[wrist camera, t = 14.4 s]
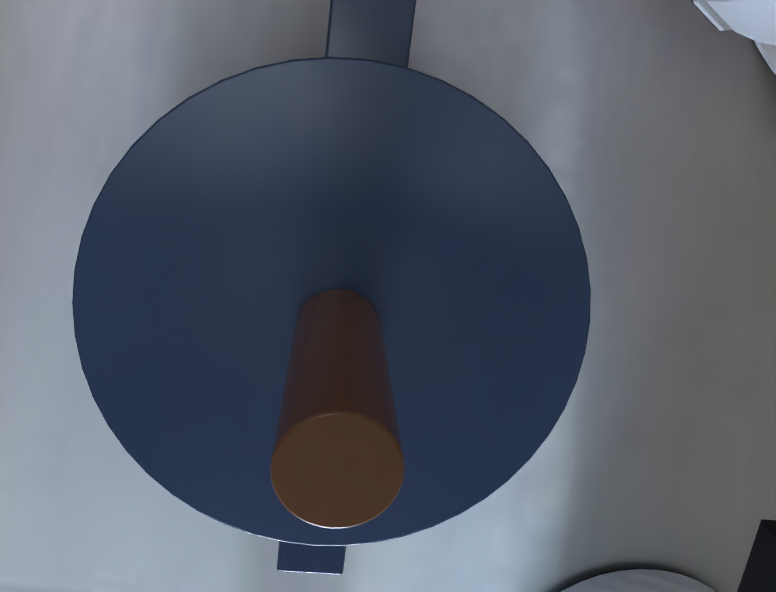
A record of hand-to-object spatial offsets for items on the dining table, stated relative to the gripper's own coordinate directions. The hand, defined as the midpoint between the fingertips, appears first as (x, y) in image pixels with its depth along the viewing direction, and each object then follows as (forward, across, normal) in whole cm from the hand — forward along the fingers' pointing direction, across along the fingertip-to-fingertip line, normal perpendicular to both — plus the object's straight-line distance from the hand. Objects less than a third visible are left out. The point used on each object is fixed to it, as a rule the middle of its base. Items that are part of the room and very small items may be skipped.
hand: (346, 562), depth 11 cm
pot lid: (+11, 0, 0) cm, 11 cm away
